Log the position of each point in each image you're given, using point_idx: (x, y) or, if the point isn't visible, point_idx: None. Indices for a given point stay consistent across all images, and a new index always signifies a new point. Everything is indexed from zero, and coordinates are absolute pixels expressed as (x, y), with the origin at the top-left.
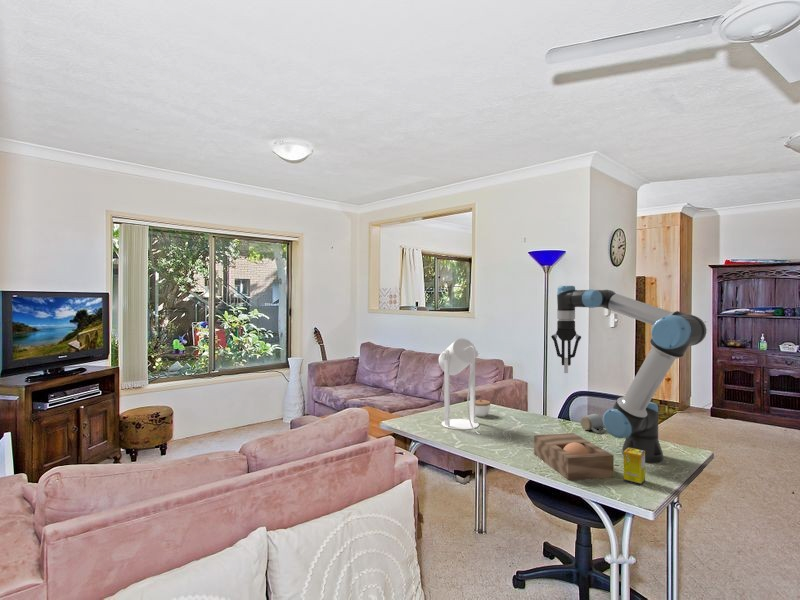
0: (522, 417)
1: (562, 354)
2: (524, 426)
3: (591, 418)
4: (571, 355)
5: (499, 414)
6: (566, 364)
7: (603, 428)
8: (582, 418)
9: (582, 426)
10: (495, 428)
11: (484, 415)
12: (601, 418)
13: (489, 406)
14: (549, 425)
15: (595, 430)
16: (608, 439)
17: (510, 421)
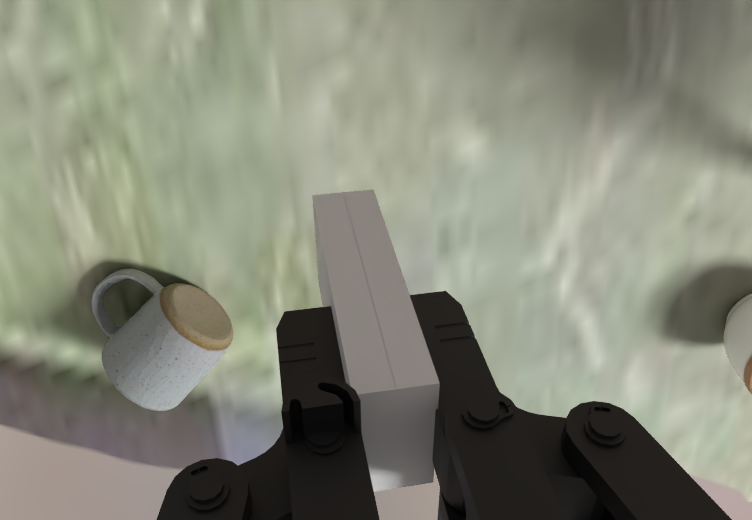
0: (543, 365)
1: (518, 466)
2: (538, 224)
3: (161, 339)
4: (268, 505)
5: (655, 364)
6: (361, 292)
7: (95, 313)
8: (219, 339)
9: (220, 308)
10: (707, 119)
11: (742, 302)
12: (108, 376)
13: (744, 349)
14: None
15: (136, 274)
16: (37, 180)
17: (609, 279)
